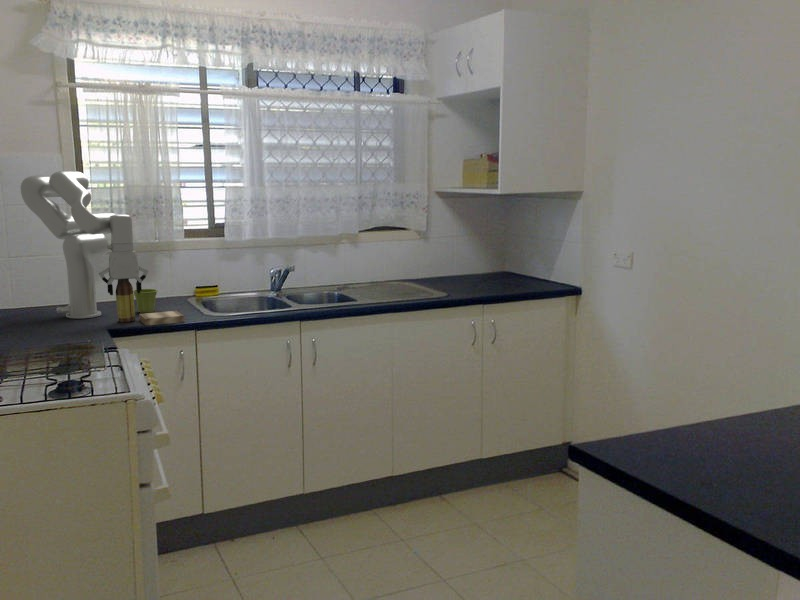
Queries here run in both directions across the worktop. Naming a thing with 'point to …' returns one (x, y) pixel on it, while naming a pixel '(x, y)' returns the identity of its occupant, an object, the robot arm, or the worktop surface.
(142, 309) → the plant pot
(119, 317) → the sauce bottle
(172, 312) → the board
